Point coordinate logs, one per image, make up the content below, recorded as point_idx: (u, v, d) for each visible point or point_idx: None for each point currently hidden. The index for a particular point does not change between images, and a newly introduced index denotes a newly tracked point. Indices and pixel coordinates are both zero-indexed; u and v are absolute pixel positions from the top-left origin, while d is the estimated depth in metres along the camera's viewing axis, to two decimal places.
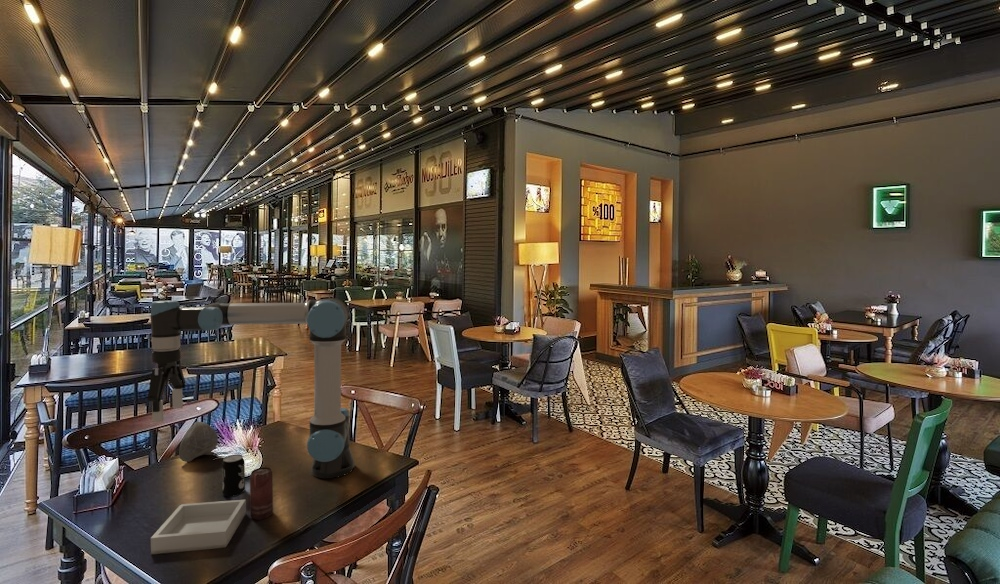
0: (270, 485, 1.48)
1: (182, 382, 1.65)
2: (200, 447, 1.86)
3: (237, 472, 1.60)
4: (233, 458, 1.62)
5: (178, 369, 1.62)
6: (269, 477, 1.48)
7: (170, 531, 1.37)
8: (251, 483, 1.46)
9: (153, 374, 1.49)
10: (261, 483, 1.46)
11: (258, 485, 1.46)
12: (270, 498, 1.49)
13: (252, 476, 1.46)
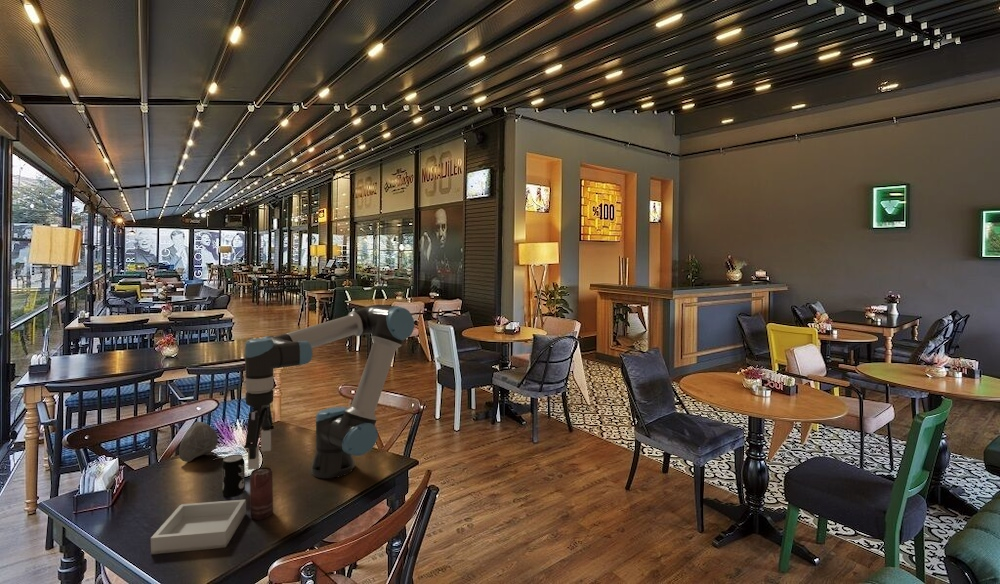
0: (270, 485, 1.48)
1: None
2: (200, 447, 1.86)
3: (237, 472, 1.60)
4: (233, 458, 1.62)
5: (268, 410, 1.53)
6: (269, 477, 1.48)
7: (170, 531, 1.37)
8: (251, 483, 1.46)
9: (250, 419, 1.40)
10: (261, 483, 1.46)
11: (258, 485, 1.46)
12: (270, 498, 1.49)
13: (252, 476, 1.46)
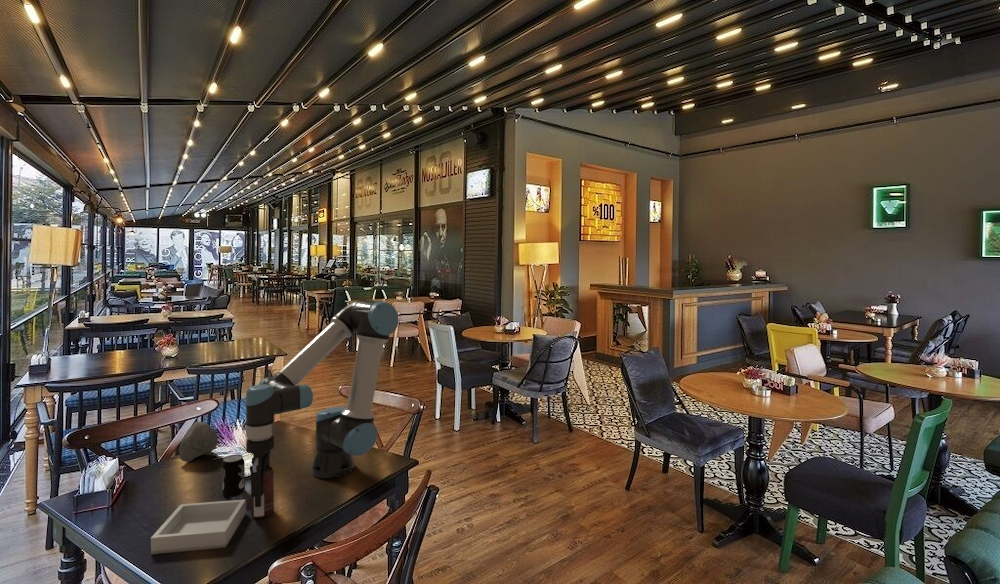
0: (271, 484, 1.49)
1: None
2: (200, 447, 1.86)
3: (237, 472, 1.60)
4: (233, 458, 1.62)
5: (267, 460, 1.53)
6: (269, 476, 1.48)
7: (170, 531, 1.37)
8: None
9: (251, 472, 1.42)
10: None
11: None
12: (271, 496, 1.49)
13: None
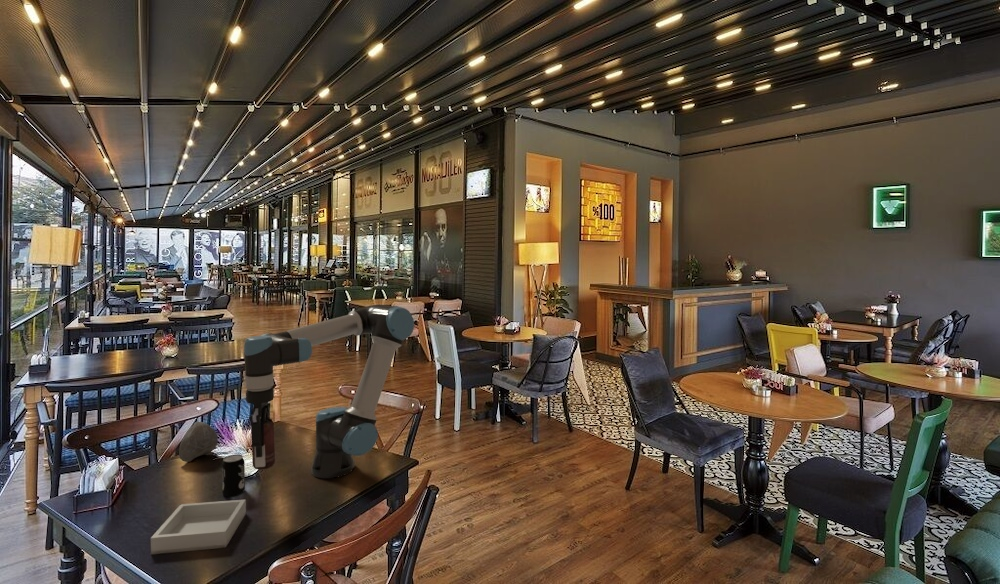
0: (271, 435, 1.48)
1: None
2: (200, 447, 1.86)
3: (237, 472, 1.60)
4: (233, 458, 1.62)
5: None
6: (270, 427, 1.48)
7: (170, 531, 1.37)
8: None
9: (251, 422, 1.41)
10: None
11: None
12: (272, 448, 1.49)
13: None
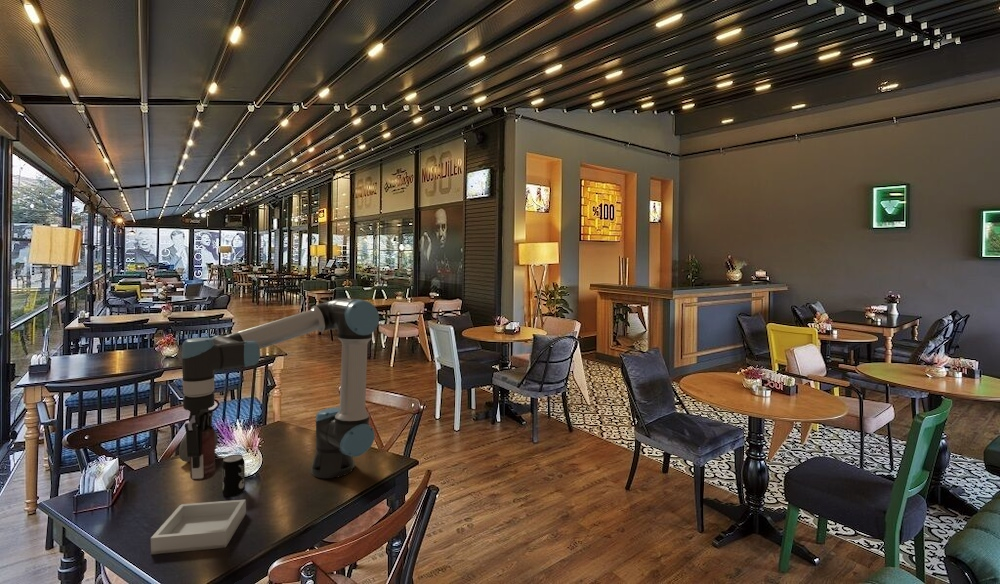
0: (211, 444, 1.39)
1: None
2: None
3: (237, 472, 1.60)
4: (233, 458, 1.62)
5: (208, 420, 1.42)
6: (209, 435, 1.38)
7: (170, 531, 1.37)
8: None
9: (187, 430, 1.31)
10: None
11: None
12: (212, 458, 1.39)
13: None
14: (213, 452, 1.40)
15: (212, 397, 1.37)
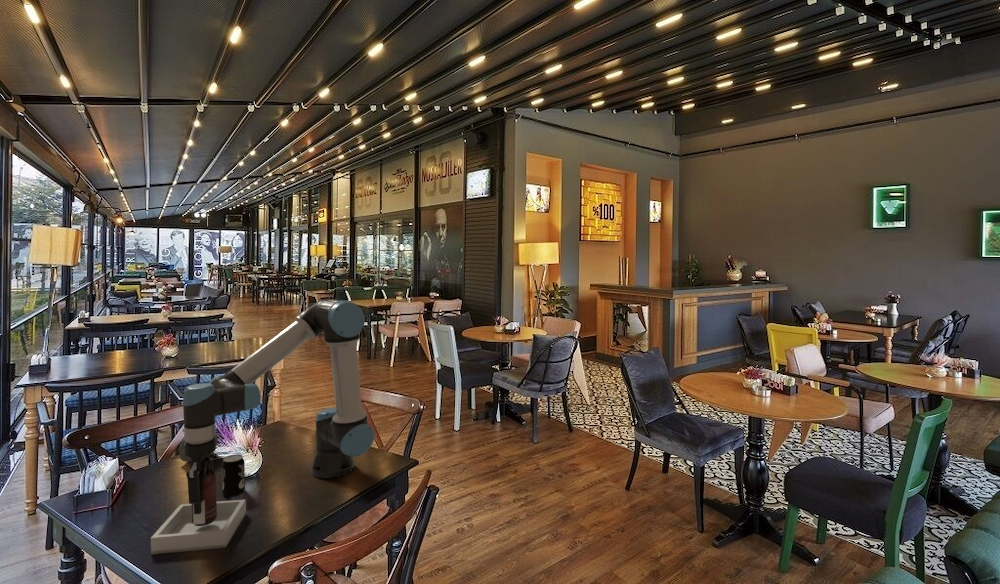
0: (212, 489, 1.40)
1: None
2: None
3: (237, 472, 1.60)
4: (233, 458, 1.62)
5: (210, 464, 1.43)
6: (210, 481, 1.39)
7: (170, 531, 1.37)
8: None
9: (188, 477, 1.32)
10: None
11: None
12: (213, 503, 1.40)
13: None
14: (214, 497, 1.40)
15: (213, 443, 1.38)
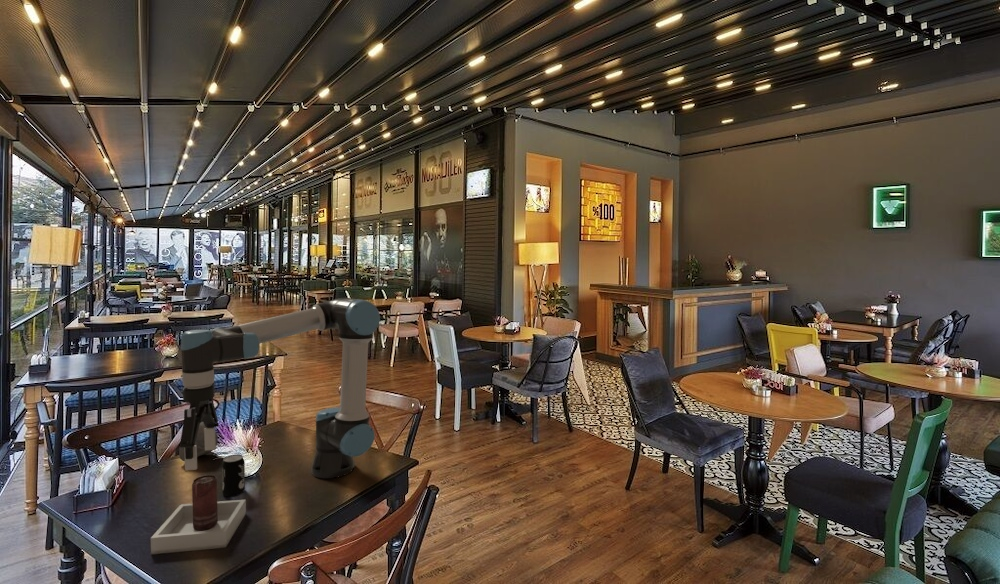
0: (213, 494, 1.40)
1: (215, 420, 1.46)
2: (200, 447, 1.86)
3: (237, 472, 1.60)
4: (233, 458, 1.62)
5: (211, 406, 1.44)
6: (211, 486, 1.39)
7: (170, 531, 1.37)
8: (193, 491, 1.38)
9: (185, 416, 1.30)
10: (202, 492, 1.38)
11: (200, 495, 1.38)
12: (214, 508, 1.41)
13: (193, 485, 1.38)
14: (215, 502, 1.41)
15: (212, 389, 1.37)
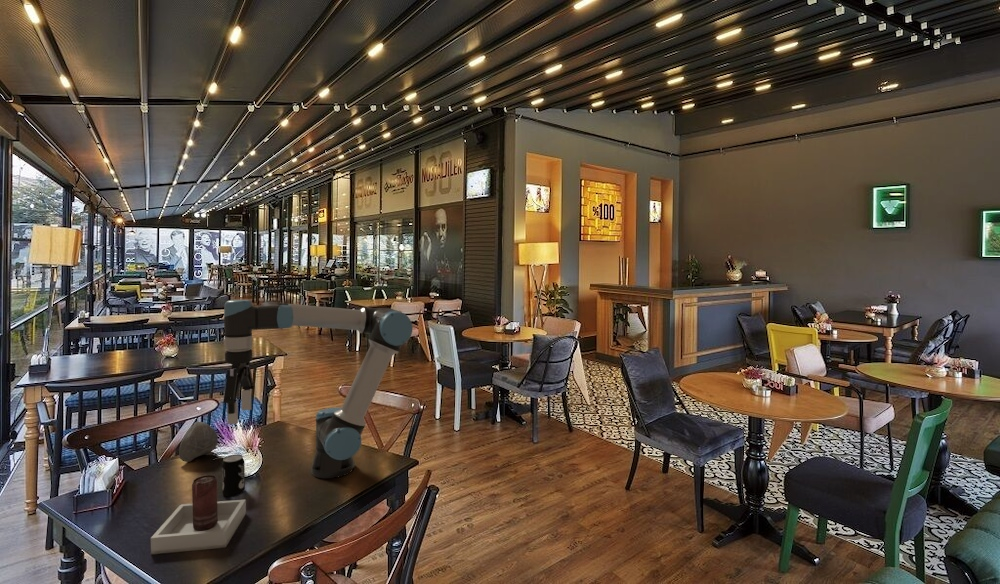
0: (213, 494, 1.40)
1: None
2: (200, 447, 1.86)
3: (237, 472, 1.60)
4: (233, 458, 1.62)
5: (247, 370, 1.59)
6: (211, 486, 1.39)
7: (170, 531, 1.37)
8: (193, 491, 1.38)
9: (228, 375, 1.46)
10: (202, 492, 1.38)
11: (200, 495, 1.38)
12: (214, 508, 1.41)
13: (193, 485, 1.38)
14: (215, 502, 1.41)
15: (250, 353, 1.52)
